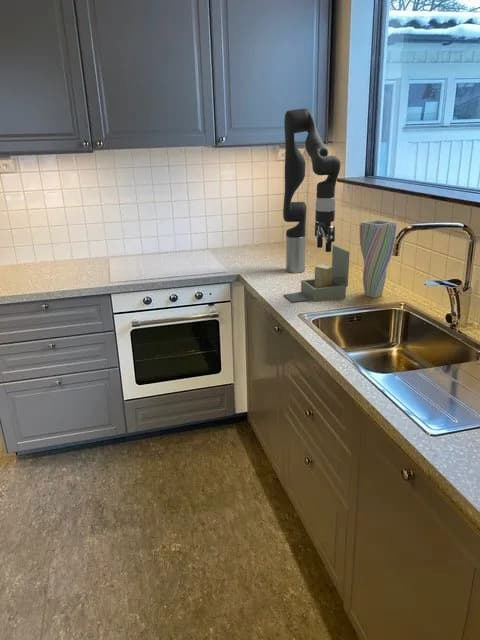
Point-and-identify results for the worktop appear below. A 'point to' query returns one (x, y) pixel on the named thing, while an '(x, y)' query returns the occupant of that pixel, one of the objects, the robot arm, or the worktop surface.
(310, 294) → the case
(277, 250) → the worktop surface
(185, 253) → the worktop surface
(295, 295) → the mat
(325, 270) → the skincare box
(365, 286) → the vase
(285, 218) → the robot arm
